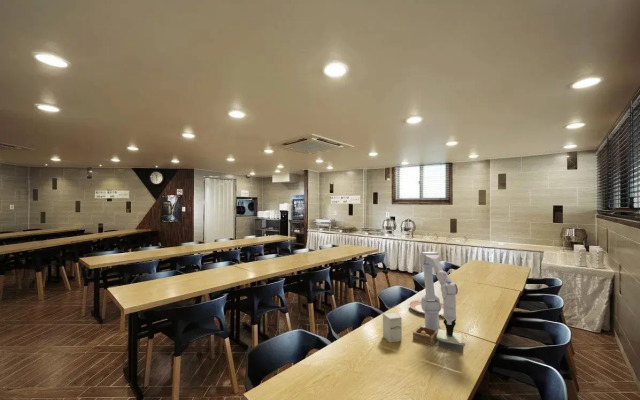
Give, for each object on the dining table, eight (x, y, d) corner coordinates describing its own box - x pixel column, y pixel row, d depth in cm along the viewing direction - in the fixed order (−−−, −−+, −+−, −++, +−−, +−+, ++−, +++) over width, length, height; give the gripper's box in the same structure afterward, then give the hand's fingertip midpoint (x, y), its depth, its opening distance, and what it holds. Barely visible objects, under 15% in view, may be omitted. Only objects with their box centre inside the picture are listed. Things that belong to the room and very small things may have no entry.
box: (419, 333, 153) (419, 326, 153) (438, 338, 146) (438, 330, 147) (412, 339, 145) (412, 332, 145) (432, 345, 139) (432, 337, 139)
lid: (438, 330, 147) (438, 322, 147) (461, 335, 142) (461, 327, 142) (436, 338, 137) (436, 330, 137) (461, 344, 132) (461, 335, 132)
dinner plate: (443, 304, 199) (443, 300, 199) (459, 319, 172) (458, 314, 172) (405, 303, 202) (405, 299, 202) (414, 318, 175) (414, 313, 175)
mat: (441, 337, 147) (441, 336, 147) (465, 344, 140) (465, 343, 140) (434, 346, 138) (434, 345, 138) (460, 354, 130) (460, 353, 131)
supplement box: (389, 343, 141) (389, 318, 142) (382, 337, 148) (382, 313, 149) (402, 341, 143) (401, 317, 144) (394, 335, 150) (394, 312, 151)
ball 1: (421, 334, 150) (421, 329, 150) (427, 336, 148) (427, 330, 148) (419, 336, 148) (419, 331, 148) (425, 338, 146) (425, 332, 146)
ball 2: (425, 338, 146) (425, 332, 146) (431, 340, 144) (431, 334, 144) (423, 340, 143) (423, 334, 143) (429, 342, 141) (429, 336, 142)
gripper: (441, 301, 148) (442, 326, 147) (440, 310, 135) (440, 338, 135) (456, 303, 145) (457, 329, 144) (455, 312, 132) (456, 341, 131)
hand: (450, 333), depth 139 cm, fingers closed on lid, 3 cm apart
